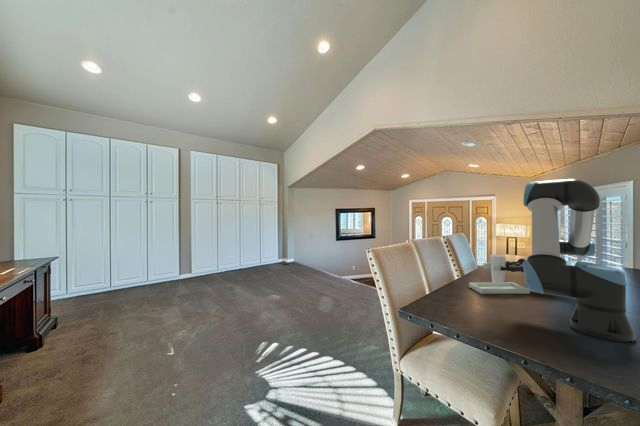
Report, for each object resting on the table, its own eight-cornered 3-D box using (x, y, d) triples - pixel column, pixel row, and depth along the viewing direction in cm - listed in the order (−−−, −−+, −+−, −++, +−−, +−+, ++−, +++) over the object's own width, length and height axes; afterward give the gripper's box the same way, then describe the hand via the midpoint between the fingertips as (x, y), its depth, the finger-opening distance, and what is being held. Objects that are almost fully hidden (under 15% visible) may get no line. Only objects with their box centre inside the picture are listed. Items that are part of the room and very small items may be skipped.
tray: (482, 294, 129) (482, 289, 129) (469, 287, 141) (468, 282, 141) (530, 293, 128) (529, 288, 128) (512, 286, 140) (512, 282, 140)
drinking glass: (499, 285, 130) (498, 257, 130) (487, 282, 137) (486, 255, 137) (509, 284, 132) (508, 256, 132) (497, 281, 139) (496, 254, 139)
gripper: (546, 276, 126) (503, 279, 125) (513, 268, 146) (476, 270, 144) (546, 262, 126) (503, 263, 124) (513, 255, 146) (475, 256, 144)
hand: (488, 267), depth 134 cm, fingers closed on drinking glass, 6 cm apart
